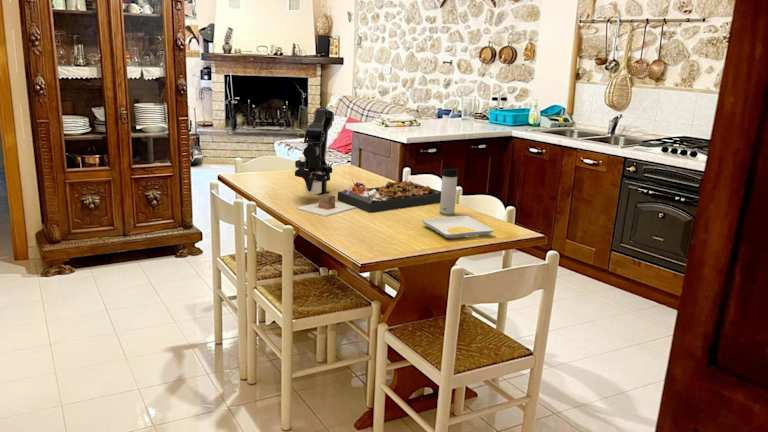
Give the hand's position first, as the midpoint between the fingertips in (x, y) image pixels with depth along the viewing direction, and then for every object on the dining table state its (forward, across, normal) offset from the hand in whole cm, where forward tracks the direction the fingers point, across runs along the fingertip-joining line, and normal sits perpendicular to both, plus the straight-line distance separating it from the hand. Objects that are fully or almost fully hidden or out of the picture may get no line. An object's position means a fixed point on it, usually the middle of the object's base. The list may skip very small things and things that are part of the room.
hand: (313, 190), depth 277 cm
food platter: (+5, -26, +25) cm, 37 cm away
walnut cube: (+4, +7, +14) cm, 16 cm away
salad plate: (+5, -4, +71) cm, 71 cm away
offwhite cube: (+1, 0, 0) cm, 1 cm away
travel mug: (+5, -24, +55) cm, 60 cm away
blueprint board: (+4, +7, +14) cm, 16 cm away
